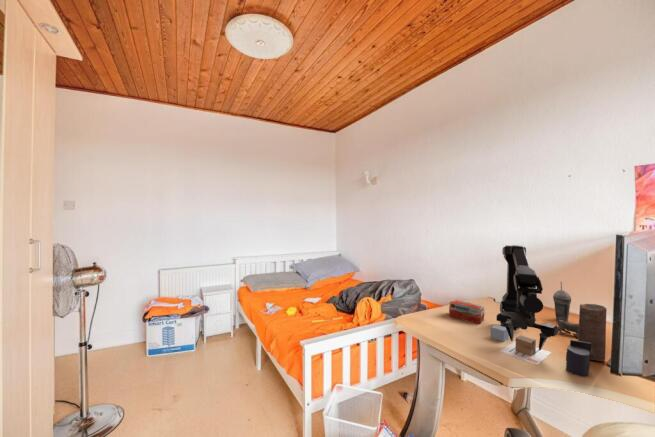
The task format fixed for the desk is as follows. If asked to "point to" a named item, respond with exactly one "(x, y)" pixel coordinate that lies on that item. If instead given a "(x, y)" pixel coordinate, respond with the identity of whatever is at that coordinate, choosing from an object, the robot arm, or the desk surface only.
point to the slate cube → (499, 333)
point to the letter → (534, 359)
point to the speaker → (578, 358)
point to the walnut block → (525, 345)
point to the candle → (593, 329)
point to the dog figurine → (567, 327)
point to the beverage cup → (562, 304)
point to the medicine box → (466, 311)
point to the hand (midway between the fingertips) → (525, 345)
